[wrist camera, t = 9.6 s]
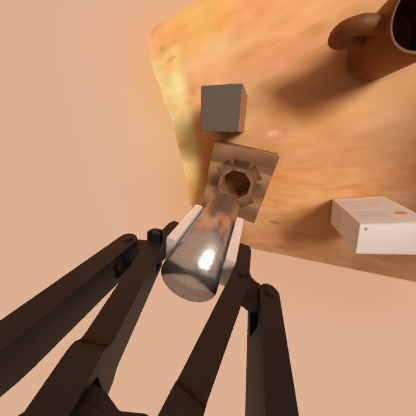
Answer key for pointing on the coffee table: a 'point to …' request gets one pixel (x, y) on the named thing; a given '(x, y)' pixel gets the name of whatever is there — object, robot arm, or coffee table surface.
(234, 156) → the socket block
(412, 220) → the small box
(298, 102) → the coffee table surface
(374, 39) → the mug
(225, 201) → the round peg
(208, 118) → the square block
